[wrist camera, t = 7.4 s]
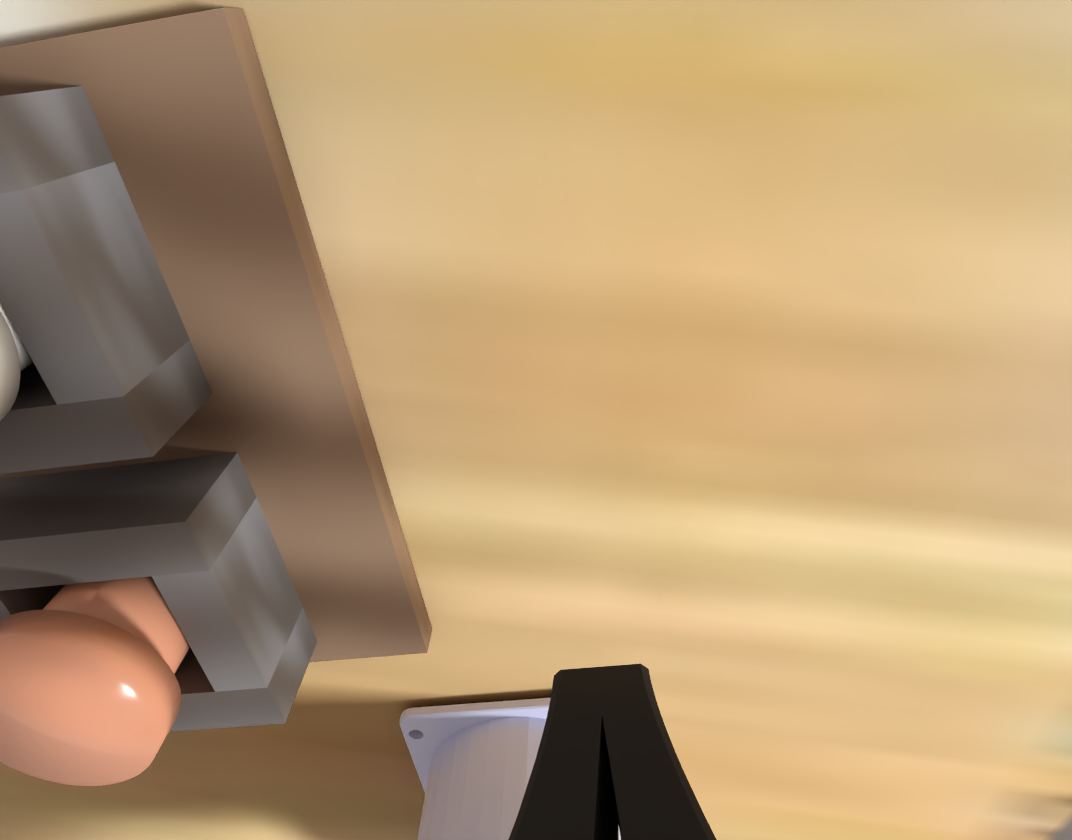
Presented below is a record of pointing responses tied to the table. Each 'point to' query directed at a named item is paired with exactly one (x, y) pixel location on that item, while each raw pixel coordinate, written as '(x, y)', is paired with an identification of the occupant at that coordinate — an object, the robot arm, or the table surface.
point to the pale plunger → (10, 362)
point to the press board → (185, 369)
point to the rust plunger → (90, 682)
